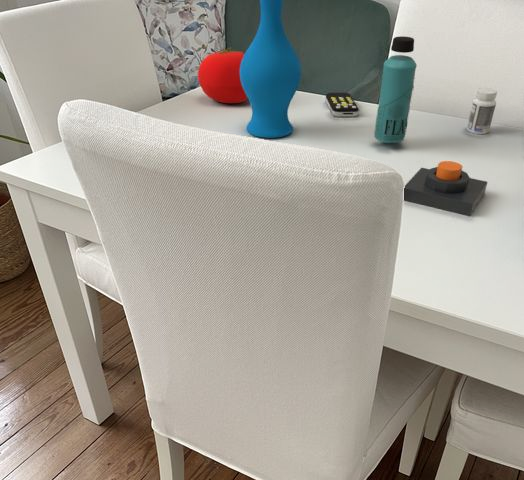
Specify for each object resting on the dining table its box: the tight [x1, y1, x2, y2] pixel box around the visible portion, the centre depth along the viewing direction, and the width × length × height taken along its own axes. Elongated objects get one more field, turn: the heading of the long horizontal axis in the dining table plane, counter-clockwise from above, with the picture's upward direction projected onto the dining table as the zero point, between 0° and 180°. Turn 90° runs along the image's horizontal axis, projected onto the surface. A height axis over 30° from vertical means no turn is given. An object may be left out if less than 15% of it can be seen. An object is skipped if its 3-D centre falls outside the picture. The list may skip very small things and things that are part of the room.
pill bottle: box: [466, 87, 498, 135], centre depth 122 cm, size 5×5×8 cm
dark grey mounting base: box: [403, 166, 488, 217], centre depth 99 cm, size 12×10×4 cm
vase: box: [240, 0, 302, 139], centre depth 115 cm, size 12×13×28 cm
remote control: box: [325, 92, 360, 118], centre depth 135 cm, size 6×13×2 cm, turn 4°
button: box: [436, 160, 463, 181], centre depth 97 cm, size 4×4×2 cm
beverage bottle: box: [374, 36, 417, 144], centre depth 112 cm, size 6×7×20 cm
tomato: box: [197, 46, 248, 104], centre depth 136 cm, size 12×14×11 cm
